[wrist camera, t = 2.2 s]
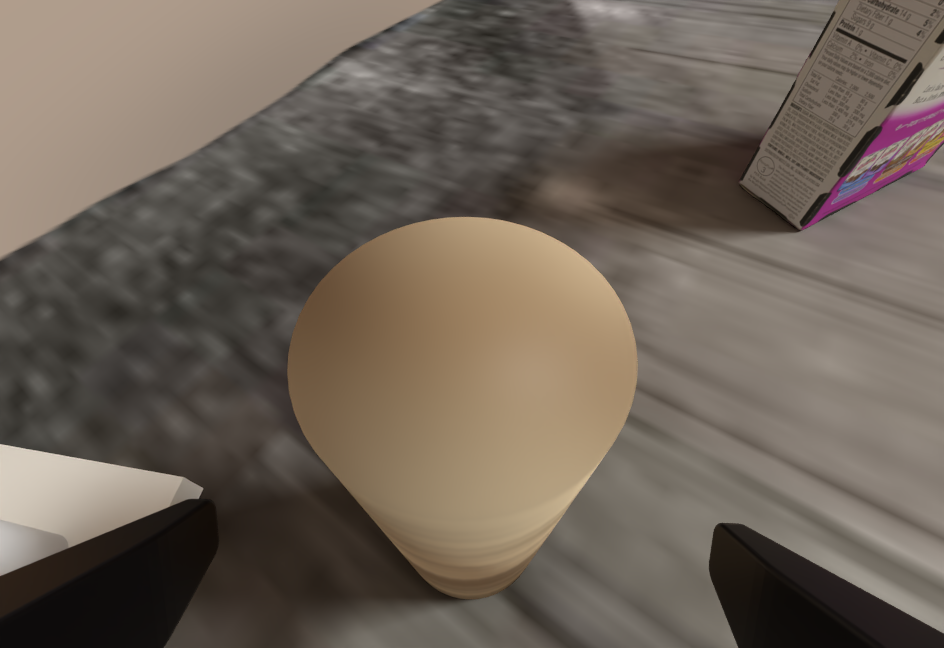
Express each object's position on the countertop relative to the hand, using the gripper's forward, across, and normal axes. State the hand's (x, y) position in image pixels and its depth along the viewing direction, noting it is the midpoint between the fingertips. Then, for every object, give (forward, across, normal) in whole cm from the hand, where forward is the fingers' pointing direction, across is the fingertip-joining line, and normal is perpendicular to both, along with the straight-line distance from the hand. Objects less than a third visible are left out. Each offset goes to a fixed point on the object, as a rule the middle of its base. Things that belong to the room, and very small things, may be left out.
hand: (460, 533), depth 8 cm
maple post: (+8, 0, +6) cm, 10 cm away
